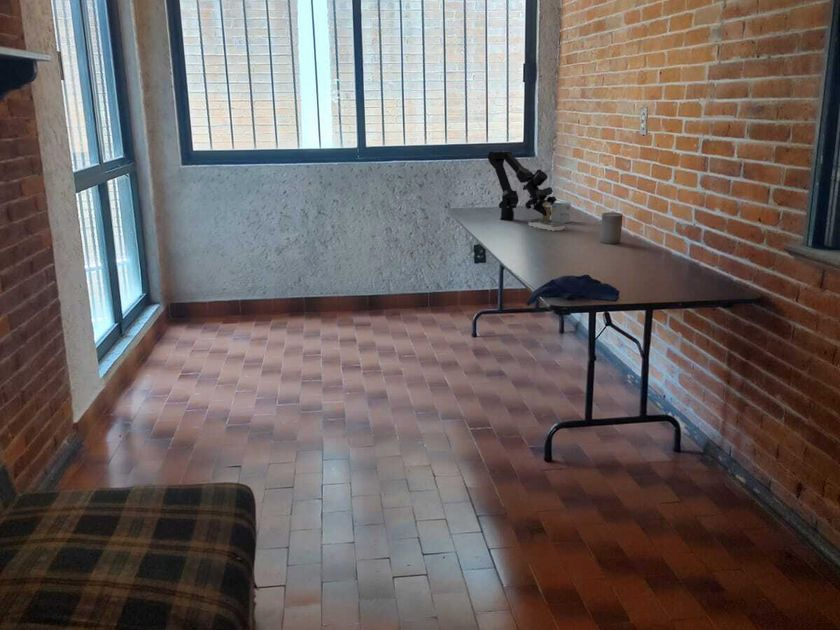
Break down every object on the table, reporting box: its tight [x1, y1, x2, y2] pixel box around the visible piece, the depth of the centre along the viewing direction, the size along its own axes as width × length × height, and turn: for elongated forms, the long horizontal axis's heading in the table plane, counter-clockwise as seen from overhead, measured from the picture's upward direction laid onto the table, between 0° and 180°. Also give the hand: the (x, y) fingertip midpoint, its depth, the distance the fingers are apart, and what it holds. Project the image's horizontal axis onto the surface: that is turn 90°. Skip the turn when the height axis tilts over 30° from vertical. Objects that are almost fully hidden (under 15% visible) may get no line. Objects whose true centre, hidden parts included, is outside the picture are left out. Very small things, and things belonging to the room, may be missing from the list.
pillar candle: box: [599, 211, 623, 245], centre depth 362 cm, size 10×10×15 cm
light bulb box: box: [550, 200, 572, 223], centre depth 416 cm, size 11×7×11 cm, turn 84°
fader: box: [540, 202, 553, 224], centre depth 395 cm, size 4×5×11 cm
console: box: [528, 216, 566, 232], centre depth 396 cm, size 17×9×4 cm, turn 39°
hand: (548, 215), depth 394 cm, fingers closed on fader, 3 cm apart
